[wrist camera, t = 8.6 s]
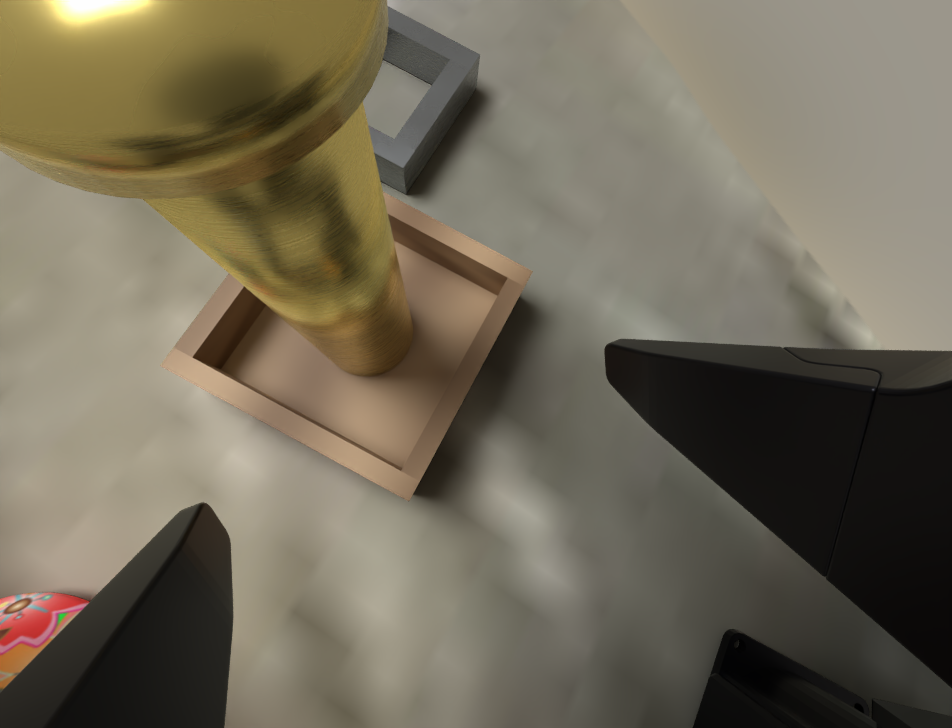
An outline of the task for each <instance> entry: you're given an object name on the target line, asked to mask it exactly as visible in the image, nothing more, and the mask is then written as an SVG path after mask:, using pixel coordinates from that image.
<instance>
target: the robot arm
mask: <svg viewBox="0 0 952 728" xmlns="http://www.w3.org/2000/svg"><path fill="white" fill-rule="evenodd" d="M605 367H606V376H607V379H608V381H609V383H610V384H611V385H612V386H613V388H614V389H615V390H616V391H617V392H618V393H619V394H620V395H621V396H622V397H623V398H624V399H625V400H626V401H627V402H628V404H629V405H630V406H631V407H632V408H633V409H634V410H635V411H636V412H637V413H638V414H639V415H640V416H641V417H642V418H643V419H644V420H645V421H646V422H647V423H648V424H649V425H650V426H651V427H652V428H653V429H654V430H655V431H656V432H657V433H658V434H660V435H661V436H662V437H663V438H664V439H665V440H667V441H668V442H669V443H670V444H671V445H672V446H673V447H675V448H676V449H677V450H678V451H679V452H680V453H682V454H683V455H684V456H685V457H686V458H687V459H688V460H690V461H691V462H692V463H693V464H694V465H695V466H697V467H698V468H699V469H700V470H701V471H702V472H703V473H705V474H706V475H707V476H708V477H709V478H710V479H712V480H713V481H714V482H715V483H716V484H717V485H719V486H720V487H721V488H722V489H723V490H724V491H725V492H727V493H728V494H729V495H730V496H731V497H732V498H734V499H735V500H736V501H737V502H738V503H739V504H740V505H742V506H743V507H744V508H745V509H746V510H747V511H749V512H750V513H751V514H752V515H753V516H754V517H755V518H757V519H758V520H759V521H760V522H761V523H762V524H764V525H765V526H766V527H767V528H768V529H769V530H771V531H772V532H773V533H774V534H775V535H776V536H777V537H779V538H780V539H781V540H782V541H783V542H784V543H786V544H787V545H788V546H789V547H790V548H791V549H792V550H794V551H795V552H796V553H797V554H798V555H799V556H801V557H802V558H803V559H804V560H805V561H806V562H807V563H809V564H810V565H811V566H812V567H813V568H814V569H816V570H817V571H818V572H819V573H820V574H821V575H823V576H826V579H827V580H828V581H829V582H830V583H831V584H833V585H834V586H835V587H836V588H837V589H838V590H839V591H841V592H842V593H843V594H844V595H845V596H846V597H848V598H849V599H850V600H851V601H852V602H853V603H854V604H856V605H857V606H858V607H859V608H860V609H861V610H863V611H864V612H865V613H866V614H867V615H868V616H869V617H871V618H872V619H873V620H874V621H875V622H876V623H878V624H879V625H880V626H881V627H882V628H883V629H884V630H886V631H887V632H888V633H889V634H890V635H891V636H893V637H894V638H895V639H896V640H897V641H898V642H899V643H901V644H902V645H903V646H904V647H905V648H906V649H908V650H909V651H910V652H911V653H912V654H913V655H914V656H916V657H917V658H918V659H919V660H920V661H921V662H923V663H924V664H925V665H926V666H927V667H928V668H929V669H931V670H932V671H933V672H934V673H935V674H936V675H938V676H939V677H940V678H941V679H942V680H943V681H944V682H946V683H947V684H948V685H949V686H950V687H951V688H952V351H912V350H850V349H819V348H796V347H784V348H782V347H775V346H755V345H735V344H716V343H696V342H676V341H656V340H636V339H619V340H616V341H614V342H611V343H609V344H607V345H606V347H605ZM232 631H233V589H232V564H231V543H230V538H229V535H228V533H227V531H226V529H225V528H224V526H223V525H222V523H221V522H220V520H219V519H218V517H217V516H216V514H215V513H214V511H213V510H212V508H211V507H210V506H209V505H208V504H207V503H203V502H202V503H199V504H196V505H194V506H191V507H188V508H186V509H183V510H181V511H180V512H179V513H178V514H177V515H176V516H175V517H174V518H173V519H172V520H171V521H170V522H169V523H168V524H167V525H166V526H165V527H164V528H163V529H162V530H161V531H160V532H159V533H158V534H157V535H156V536H155V537H154V538H153V539H152V540H151V541H150V542H149V543H148V544H147V545H146V546H145V547H144V548H143V549H142V550H141V551H140V552H139V553H138V554H137V555H136V556H135V557H134V558H133V559H132V560H131V561H130V562H129V563H128V564H127V565H126V566H125V567H124V568H123V569H122V570H121V571H120V572H119V573H118V574H117V575H116V576H115V577H114V578H113V579H112V580H111V581H110V582H109V583H108V584H107V585H106V586H105V587H104V588H103V589H102V590H101V591H100V592H99V593H98V594H97V595H96V596H95V597H94V598H93V599H92V600H91V601H90V602H89V603H88V604H87V605H86V606H85V607H84V608H83V609H82V610H81V611H80V612H79V613H78V614H77V615H76V616H75V617H74V618H73V619H72V620H71V621H70V622H69V623H68V624H67V625H66V626H65V627H64V628H63V629H62V630H61V631H60V632H59V633H58V634H57V635H56V636H55V637H54V638H53V639H52V640H51V641H50V642H49V643H48V644H47V645H46V646H45V647H44V648H43V649H42V651H41V652H40V653H39V654H38V655H37V656H36V657H35V658H34V659H33V660H32V661H31V662H30V663H29V664H28V665H27V666H26V667H25V668H24V669H23V670H22V671H21V672H20V673H19V674H18V675H17V676H16V677H15V678H14V679H13V680H12V681H11V682H10V683H9V684H8V685H7V686H6V687H5V688H4V689H3V690H2V691H1V692H0V728H224V725H225V714H226V702H227V690H228V678H229V667H230V655H231V643H232ZM736 640H739V645H738V647H737V648H735V647H734V643H735V641H736ZM853 705H854V708H853ZM693 728H952V717H951V716H947V715H943V714H938V713H934V712H930V711H925V710H921V709H917V708H912V707H908V706H904V705H899V704H895V703H891V702H887V701H882V700H878V699H872V718H870V717H869V708H868V705H867V703H866V702H865V701H864V700H863V699H862V698H861V697H859V696H857V695H855V694H854V693H852V692H850V691H848V690H846V689H844V688H843V687H841V686H839V685H837V684H835V683H833V682H832V681H830V680H828V679H826V678H824V677H822V676H820V675H819V674H817V673H815V672H813V671H811V670H809V669H808V668H806V667H804V666H802V665H800V664H798V663H797V662H795V661H793V660H791V659H789V658H787V657H785V656H784V655H782V654H780V653H778V652H776V651H774V650H773V649H771V648H769V647H767V646H765V645H763V644H762V643H760V642H758V641H756V640H754V639H752V638H751V637H749V636H747V635H745V634H743V633H741V632H739V631H738V630H735V629H730V630H728V631H726V632H725V633H724V635H723V638H722V641H721V644H720V647H719V650H718V653H717V656H716V659H715V662H714V666H713V669H712V672H711V675H710V677H709V680H708V683H707V686H706V689H705V692H704V695H703V698H702V701H701V705H700V708H699V711H698V714H697V717H696V720H695V723H694V726H693Z"/></svg>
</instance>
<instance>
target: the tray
mask: <svg viewBox="0 0 952 728" xmlns="http://www.w3.org/2000/svg"><path fill="white" fill-rule="evenodd" d="M383 195H384V199H385V204H386V208H387V213H388V217H389V221H390V226H391V230H392V235H393V239H394V244H395V248H396V253H397V257H398V262H399V266H400V271H401V275H402V279H403V284H404V288H405V293H406V297H407V302H408V306H409V311H410V315H411V320H412V324H413V340H412V344H411V347H410V349H409V351H408V353H407V355H406V356H405V358H404V359H403V360H402V361H401V362H400V363H399V364H398V365H397V366H396V367H394V368H393V369H391V370H389V371H387V372H385V373H383V374H380V375H375V376H358V375H354V374H350V373H348V372H346V371H344V370H342V369H341V368H339V367H338V366H337V365H335V364H334V363H333V362H332V361H331V360H330V359H328V358H327V357H326V356H325V355H324V354H323V353H321V352H320V351H319V350H318V349H317V348H316V347H315V346H313V345H312V344H311V343H310V342H309V341H308V340H306V339H305V338H304V337H303V336H302V335H301V334H299V333H298V332H297V331H296V330H295V329H294V328H292V327H291V326H290V325H289V324H288V323H287V322H285V321H284V320H283V319H282V318H281V317H280V316H278V315H277V314H276V313H275V312H274V311H273V310H271V309H270V308H269V307H268V306H267V305H266V304H264V303H263V302H262V301H261V300H260V299H259V298H257V297H256V296H255V295H254V294H253V293H252V292H250V291H249V290H248V289H247V288H246V287H245V286H243V285H242V284H241V283H240V282H239V281H238V280H236V279H235V278H234V277H233V276H232V275H231V274H228V275H227V277H226V278H225V279H224V281H223V282H222V283H221V285H220V286H219V287H218V289H217V290H216V291H215V293H214V294H213V295H212V297H211V298H210V299H209V301H208V302H207V303H206V305H205V306H204V307H203V309H202V310H201V311H200V313H199V314H198V315H197V317H196V318H195V319H194V321H193V322H192V323H191V325H190V326H189V327H188V329H187V330H186V331H185V333H184V334H183V335H182V337H181V338H180V339H179V341H178V342H177V343H176V345H175V346H174V347H173V349H172V350H171V351H170V353H169V354H168V355H167V357H166V358H165V359H164V361H163V362H162V363H161V365H160V366H161V367H163V368H165V369H167V370H169V371H171V372H172V373H174V374H176V375H178V376H180V377H182V378H183V379H185V380H187V381H189V382H191V383H193V384H194V385H196V386H198V387H200V388H202V389H204V390H205V391H207V392H209V393H211V394H213V395H215V396H217V397H218V398H220V399H222V400H224V401H226V402H228V403H229V404H231V405H233V406H235V407H237V408H239V409H240V410H242V411H244V412H246V413H248V414H250V415H251V416H253V417H255V418H257V419H259V420H261V421H262V422H264V423H266V424H268V425H270V426H272V427H273V428H275V429H277V430H279V431H281V432H283V433H284V434H286V435H288V436H290V437H292V438H294V439H295V440H297V441H299V442H301V443H303V444H305V445H306V446H308V447H310V448H312V449H314V450H316V451H317V452H319V453H321V454H323V455H325V456H327V457H328V458H330V459H332V460H334V461H336V462H338V463H339V464H341V465H343V466H345V467H347V468H349V469H350V470H352V471H354V472H356V473H358V474H360V475H361V476H363V477H365V478H367V479H369V480H371V481H372V482H374V483H376V484H378V485H380V486H382V487H383V488H385V489H387V490H389V491H391V492H393V493H394V494H396V495H398V496H400V497H402V498H404V499H405V500H407V501H410V499H411V497H412V495H413V493H414V491H415V490H416V488H417V486H418V484H419V482H420V480H421V478H422V477H423V475H424V473H425V471H426V469H427V467H428V465H429V464H430V462H431V460H432V458H433V456H434V454H435V452H436V450H437V449H438V447H439V445H440V443H441V441H442V439H443V437H444V436H445V434H446V432H447V430H448V428H449V426H450V424H451V423H452V421H453V419H454V417H455V415H456V413H457V411H458V410H459V408H460V406H461V404H462V402H463V400H464V398H465V397H466V395H467V393H468V391H469V389H470V387H471V385H472V384H473V382H474V380H475V378H476V376H477V374H478V372H479V371H480V369H481V367H482V365H483V363H484V361H485V359H486V358H487V356H488V354H489V352H490V350H491V348H492V346H493V345H494V343H495V341H496V339H497V337H498V335H499V333H500V332H501V330H502V328H503V326H504V324H505V322H506V320H507V319H508V317H509V315H510V313H511V311H512V309H513V307H514V306H515V304H516V302H517V300H518V298H519V296H520V294H521V292H522V291H523V289H524V287H525V285H526V283H527V281H528V279H529V278H530V276H531V274H532V272H533V271H531V270H529V269H527V268H525V267H524V266H522V265H520V264H518V263H516V262H514V261H512V260H510V259H509V258H507V257H505V256H503V255H501V254H499V253H497V252H495V251H494V250H492V249H490V248H488V247H486V246H484V245H482V244H480V243H479V242H477V241H475V240H473V239H471V238H469V237H467V236H465V235H464V234H462V233H460V232H458V231H456V230H454V229H452V228H450V227H449V226H447V225H445V224H443V223H441V222H439V221H437V220H435V219H433V218H432V217H430V216H428V215H426V214H424V213H422V212H420V211H418V210H417V209H415V208H413V207H411V206H409V205H407V204H405V203H403V202H402V201H400V200H398V199H396V198H394V197H392V196H390V195H388V194H387V193H385V192H383Z"/></svg>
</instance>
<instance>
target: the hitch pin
mask: <svg viewBox="0 0 952 728" xmlns="http://www.w3.org/2000/svg"><path fill="white" fill-rule="evenodd" d="M388 24H389V21H388V7H387V0H0V150H1V151H2V152H4V153H5V154H7V155H8V156H10V157H11V158H13V159H15V160H16V161H18V162H19V163H21V164H22V165H24V166H26V167H27V168H29V169H30V170H33V171H35V172H37V173H39V174H41V175H44V176H46V177H48V178H50V179H52V180H54V181H57V182H59V183H63V184H66V185H69V186H72V187H75V188H79V189H82V190H85V191H89V192H94V193H100V194H105V195H110V196H116V197H125V198H140V199H143V200H144V201H146V202H147V203H148V204H149V205H150V206H151V207H153V208H154V209H155V210H156V211H157V212H158V213H160V214H161V215H162V216H163V217H164V218H165V219H166V220H168V221H169V222H170V223H171V224H172V225H173V226H175V227H176V228H177V229H178V230H179V231H180V232H182V233H183V234H184V235H185V236H186V237H187V238H189V239H190V240H191V241H192V242H193V243H194V244H196V245H197V246H198V247H199V248H200V249H201V250H203V251H204V252H205V253H206V254H207V255H208V256H210V257H211V258H212V259H213V260H214V261H215V262H217V263H218V264H219V265H220V266H221V267H222V268H224V269H225V270H226V271H227V272H228V273H229V274H231V275H232V276H233V277H234V278H235V279H236V280H238V281H239V282H240V283H241V284H242V285H243V286H245V287H246V288H247V289H248V290H249V291H250V292H252V293H253V294H254V295H255V296H256V297H257V298H259V299H260V300H261V301H262V302H263V303H264V304H266V305H267V306H268V307H269V308H270V309H271V310H273V311H274V312H275V313H276V314H277V315H278V316H280V317H281V318H282V319H283V320H284V321H285V322H287V323H288V324H289V325H290V326H291V327H292V328H294V329H295V330H296V331H297V332H298V333H299V334H301V335H302V336H303V337H304V338H305V339H306V340H308V341H309V342H310V343H311V344H312V345H313V346H315V347H316V348H317V349H318V350H319V351H320V352H321V353H323V354H324V355H325V356H326V357H327V358H328V359H330V360H331V361H332V362H333V363H334V364H335V365H337V366H338V367H339V368H341V369H342V370H344V371H346V372H348V373H350V374H354V375H358V376H375V375H380V374H383V373H385V372H387V371H389V370H391V369H393V368H394V367H396V366H397V365H398V364H399V363H400V362H401V361H402V360H403V359H404V358H405V356H406V355H407V353H408V351H409V349H410V347H411V344H412V340H413V324H412V320H411V315H410V311H409V306H408V302H407V297H406V293H405V288H404V284H403V279H402V275H401V271H400V266H399V262H398V257H397V253H396V248H395V244H394V239H393V235H392V230H391V226H390V221H389V217H388V213H387V208H386V204H385V199H384V195H383V190H382V186H381V181H380V177H379V172H378V168H377V163H376V159H375V155H374V150H373V146H372V141H371V137H370V132H369V128H368V123H367V119H366V114H365V110H364V105H363V100H364V98H365V97H366V95H367V93H368V92H369V90H370V89H371V87H372V85H373V83H374V80H375V78H376V76H377V74H378V71H379V69H380V67H381V64H382V60H383V56H384V52H385V48H386V45H387V35H388Z"/></svg>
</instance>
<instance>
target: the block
mask: <svg viewBox="0 0 952 728" xmlns="http://www.w3.org/2000/svg"><path fill="white" fill-rule="evenodd" d="M387 7H388V6H387ZM388 21H389V24H388V35H387V45H386V48H385V52H384V56H383V59H384V60H386V61H388V62H390V63H392V64H394V65H396V66H398V67H399V68H401V69H403V70H405V71H407V72H409V73H411V74H413V75H415V76H416V77H418V78H420V79H422V80H424V81H426V82H428V83H430V84H432V86H431V88H430V89H429V90H428V92H427V93H426V95H425V96H424V98H423V99H422V100H421V102H420V103H419V105H418V106H417V108H416V109H415V110H414V112H413V113H412V115H411V116H410V118H409V119H408V120H407V122H406V123H405V125H404V126H403V128H402V129H401V130H400V132H399V133H398V135H397V136H396V138H395V139H393V138H391V137H389V136H387V135H385V134H384V133H382V132H380V131H378V130H376V129H374V128H372V127H370V126H368V128H369V132H370V137H371V141H372V146H373V150H374V155H375V159H376V163H377V168H378V172H379V177H380V181H382V182H384V183H385V184H387V185H389V186H391V187H393V188H395V189H397V190H399V191H400V192H402V193H404V194H407V192H408V191H409V189H410V188H411V186H412V185H413V183H414V182H415V180H416V179H417V177H418V176H419V174H420V173H421V171H422V169H423V168H424V166H425V165H426V163H427V162H428V160H429V159H430V157H431V156H432V154H433V153H434V151H435V150H436V148H437V147H438V145H439V144H440V142H441V141H442V139H443V138H444V136H445V135H446V133H447V132H448V130H449V129H450V127H451V126H452V124H453V123H454V121H455V120H456V118H457V117H458V115H459V114H460V112H461V111H462V109H463V108H464V106H465V105H466V103H467V101H468V100H469V98H470V97H471V95H472V94H473V92H474V91H475V89H476V85H477V76H478V67H479V59H480V54H478V53H476V52H474V51H472V50H470V49H468V48H466V47H464V46H463V45H461V44H459V43H457V42H455V41H453V40H451V39H449V38H447V37H445V36H443V35H442V34H440V33H438V32H436V31H434V30H432V29H430V28H428V27H426V26H424V25H423V24H421V23H419V22H417V21H415V20H413V19H411V18H409V17H407V16H405V15H403V14H402V13H400V12H398V11H396V10H394V9H392V8H390V7H388Z"/></svg>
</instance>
